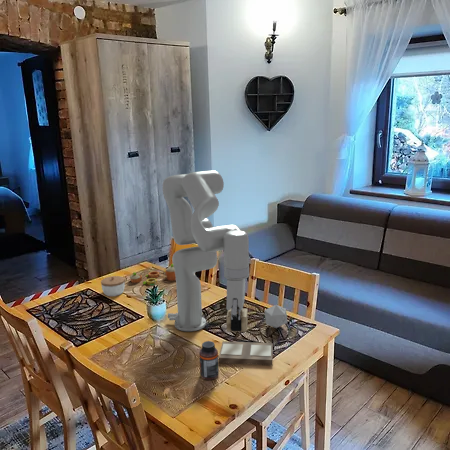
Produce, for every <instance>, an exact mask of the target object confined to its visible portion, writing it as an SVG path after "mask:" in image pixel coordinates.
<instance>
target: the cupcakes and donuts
mask: <svg viewBox="0 0 450 450" xmlns="http://www.w3.org/2000/svg"><path fill="white" fill-rule="evenodd" d="M161 276H162V275H161V274H160V272H159V271H149V272H148V274H146V275H145V277H146V278H147V279H145V280H144V281H142V280H143V275H142V274H139V273H138V274H137V272H133V273H132V274H131V275H130V276H129V279H130V282H131V283H136V284H137V283H141V282H142V284H143V285H147V286H156V284H158V279H157V278H159V277H161ZM163 276H166V280H168V281H176V276H175V271H174V266H173V263H171V264H170V266H168V267H167V268H166V269H164V270H163Z"/></svg>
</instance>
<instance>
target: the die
mask: <svg viewBox="0 0 450 450" xmlns="http://www.w3.org/2000/svg"><path fill="white" fill-rule="evenodd" d="M264 317H265V319H264V321H265V324H266V325H267V326H270V327H272V328H275V329H277V328H280V327H282V326H283V325H286V324H288V315H287V308H285V307H282V306H280V305H278V304H274V305H273V306H271V307H268V308H266V309H265V310H264Z"/></svg>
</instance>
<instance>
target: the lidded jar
mask: <svg viewBox="0 0 450 450" xmlns="http://www.w3.org/2000/svg"><path fill="white" fill-rule="evenodd" d="M125 280H126V279H125V277H123V276H119V275H115V276H114V275H112V276H108V277H107V276H106V277H105V278H102V279H101V281H100V284H101V289H102V292H103V294H104V295H105V296H107V297H117V296H120V295H122V294H123V292H124V290H125V287H126V286H125V285H126V284H125Z"/></svg>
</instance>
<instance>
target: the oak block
mask: <svg viewBox="0 0 450 450" xmlns="http://www.w3.org/2000/svg"><path fill="white" fill-rule="evenodd" d="M237 309H239V308H237ZM237 314H238V315H239V311H237ZM248 316H249V315H248V308H244V307H243V309H242V310H241V315H240V319H241V327H242V330H241V331H231V309H230V310H229V311H228V310H227V314H226V332H233V333H247V332H248V331H247V329H248Z"/></svg>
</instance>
